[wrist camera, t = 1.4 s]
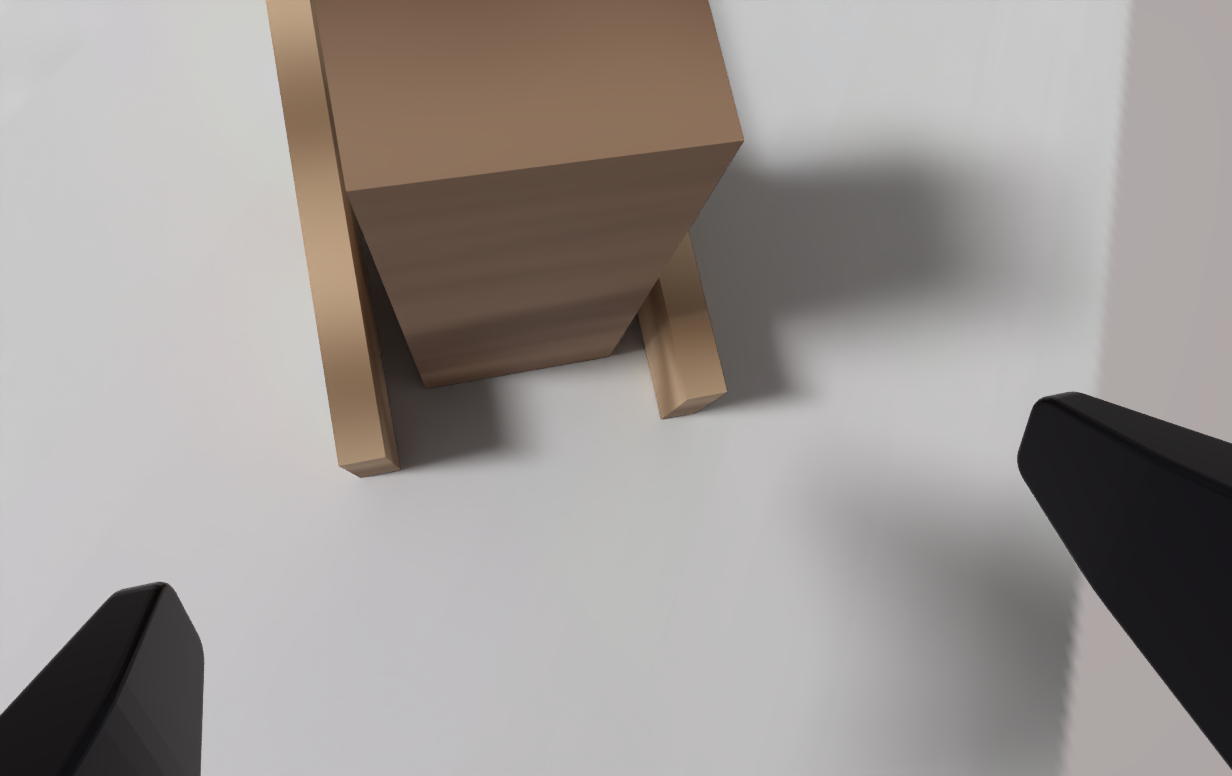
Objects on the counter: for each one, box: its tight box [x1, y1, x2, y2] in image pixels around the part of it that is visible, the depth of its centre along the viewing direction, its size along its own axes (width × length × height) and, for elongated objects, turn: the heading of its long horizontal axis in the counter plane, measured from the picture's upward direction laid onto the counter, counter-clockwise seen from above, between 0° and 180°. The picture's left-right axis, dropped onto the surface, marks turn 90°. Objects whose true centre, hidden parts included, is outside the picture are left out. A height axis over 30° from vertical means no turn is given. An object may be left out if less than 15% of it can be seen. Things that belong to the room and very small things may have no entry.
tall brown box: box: [314, 0, 744, 389], centre depth 16 cm, size 5×5×12 cm
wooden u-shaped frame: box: [266, 0, 727, 478], centre depth 21 cm, size 20×9×4 cm, turn 12°
